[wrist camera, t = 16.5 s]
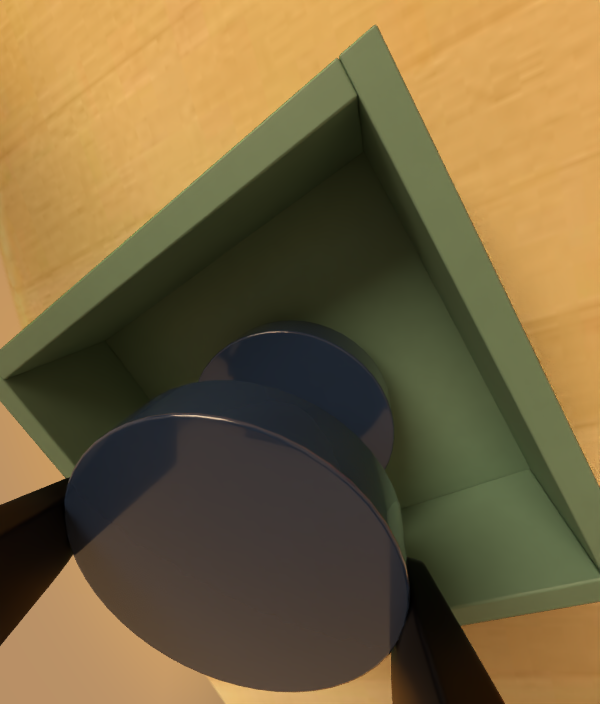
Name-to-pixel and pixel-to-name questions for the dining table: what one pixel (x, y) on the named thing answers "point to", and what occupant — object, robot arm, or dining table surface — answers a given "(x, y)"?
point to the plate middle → (243, 537)
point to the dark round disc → (314, 375)
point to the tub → (352, 321)
